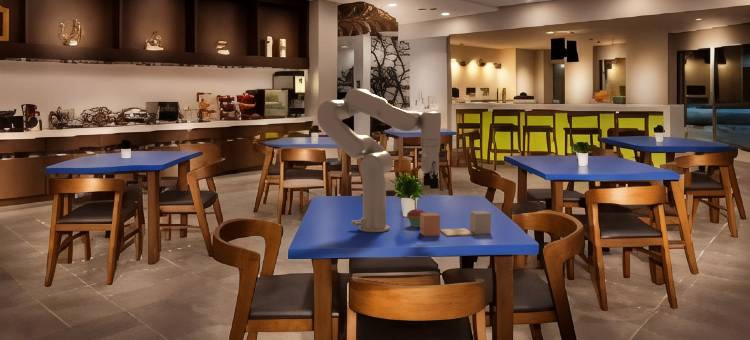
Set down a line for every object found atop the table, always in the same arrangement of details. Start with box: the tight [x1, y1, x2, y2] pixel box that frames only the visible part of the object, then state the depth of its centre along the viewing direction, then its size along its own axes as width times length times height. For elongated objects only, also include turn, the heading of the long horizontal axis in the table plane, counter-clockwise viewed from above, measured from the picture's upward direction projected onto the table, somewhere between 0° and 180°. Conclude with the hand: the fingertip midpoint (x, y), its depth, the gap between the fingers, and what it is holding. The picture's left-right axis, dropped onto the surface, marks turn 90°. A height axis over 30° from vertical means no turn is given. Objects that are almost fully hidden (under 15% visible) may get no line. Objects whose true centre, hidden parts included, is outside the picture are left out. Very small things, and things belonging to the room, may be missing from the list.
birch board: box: [440, 227, 475, 237], centre depth 246 cm, size 11×11×1 cm
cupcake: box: [406, 198, 427, 228], centre depth 260 cm, size 9×8×12 cm
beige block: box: [469, 210, 492, 235], centre depth 247 cm, size 6×6×8 cm
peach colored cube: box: [419, 212, 441, 237], centre depth 243 cm, size 6×6×8 cm
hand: (430, 187), depth 242 cm, fingers open, 9 cm apart
